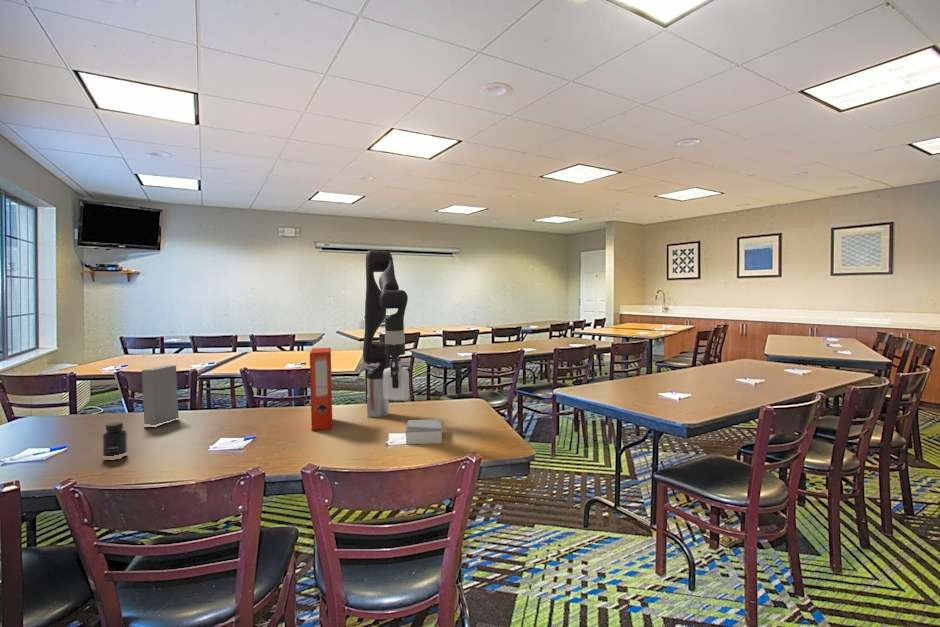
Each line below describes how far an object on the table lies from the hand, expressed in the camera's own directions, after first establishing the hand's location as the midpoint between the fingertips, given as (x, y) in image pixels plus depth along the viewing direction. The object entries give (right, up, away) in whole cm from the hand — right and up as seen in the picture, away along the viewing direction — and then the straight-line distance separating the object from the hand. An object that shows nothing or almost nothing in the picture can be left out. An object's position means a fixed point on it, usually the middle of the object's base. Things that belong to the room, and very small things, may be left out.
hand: (396, 386), depth 184 cm
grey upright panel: (-108, -21, +29) cm, 114 cm away
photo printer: (0, -5, 0) cm, 5 cm away
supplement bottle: (-95, -23, -16) cm, 99 cm away
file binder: (-35, -20, +22) cm, 45 cm away
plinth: (+11, -20, 0) cm, 22 cm away
